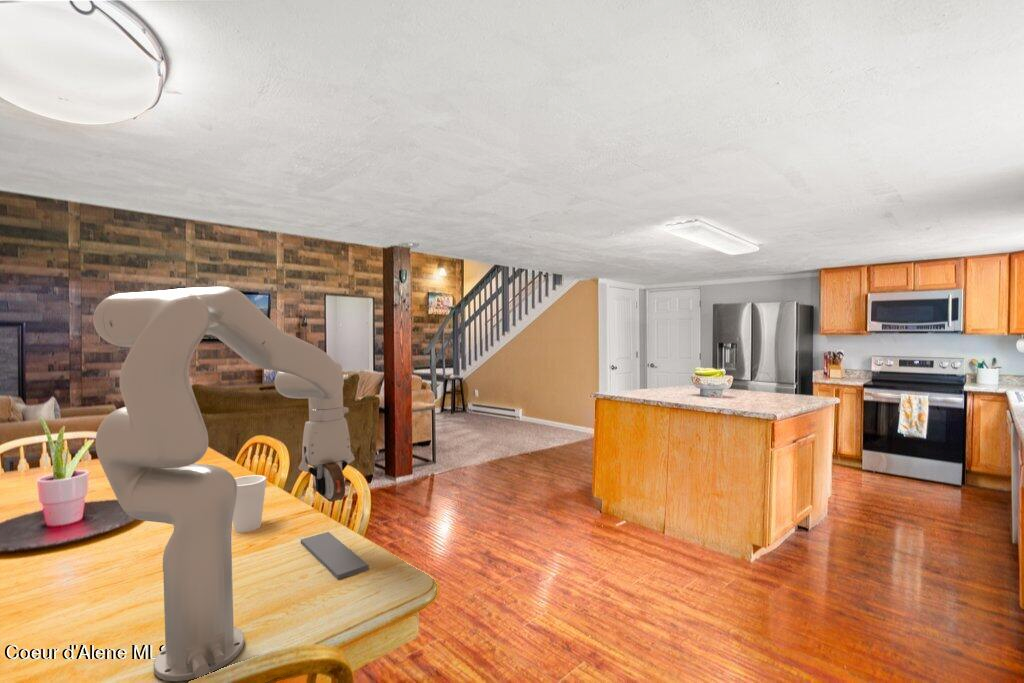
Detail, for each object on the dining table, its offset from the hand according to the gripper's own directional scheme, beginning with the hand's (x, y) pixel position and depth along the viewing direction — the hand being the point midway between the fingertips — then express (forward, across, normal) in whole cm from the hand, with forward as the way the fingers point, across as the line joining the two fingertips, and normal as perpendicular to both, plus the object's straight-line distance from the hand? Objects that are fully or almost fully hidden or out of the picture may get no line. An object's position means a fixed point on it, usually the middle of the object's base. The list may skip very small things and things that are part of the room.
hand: (328, 491), depth 116 cm
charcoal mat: (+16, -1, 0) cm, 16 cm away
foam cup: (+16, +11, -32) cm, 37 cm away
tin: (+1, 0, 0) cm, 1 cm away
